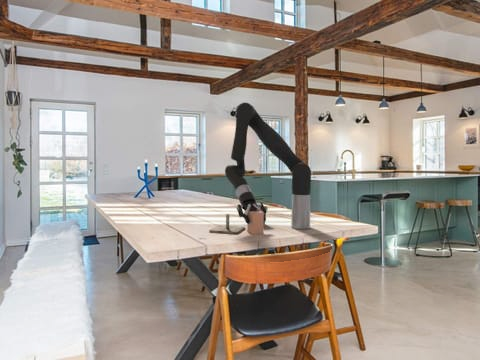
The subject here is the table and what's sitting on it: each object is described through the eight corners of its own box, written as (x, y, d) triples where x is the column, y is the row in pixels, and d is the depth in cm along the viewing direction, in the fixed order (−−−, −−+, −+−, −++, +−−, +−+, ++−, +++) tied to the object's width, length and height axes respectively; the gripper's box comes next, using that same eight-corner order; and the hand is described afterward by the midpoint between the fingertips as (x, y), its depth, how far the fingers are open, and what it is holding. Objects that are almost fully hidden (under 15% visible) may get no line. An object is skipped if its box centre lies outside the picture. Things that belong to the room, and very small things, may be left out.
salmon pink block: (257, 230, 171) (257, 210, 170) (263, 233, 166) (263, 212, 165) (247, 232, 168) (247, 211, 167) (253, 234, 163) (253, 213, 163)
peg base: (245, 229, 175) (245, 212, 175) (237, 234, 163) (237, 216, 162) (218, 227, 179) (218, 211, 179) (209, 232, 167) (209, 215, 166)
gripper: (235, 191, 169) (246, 218, 160) (260, 190, 176) (272, 216, 166) (230, 201, 174) (240, 228, 165) (254, 199, 181) (266, 225, 171)
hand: (256, 222), depth 165 cm, fingers open, 8 cm apart
